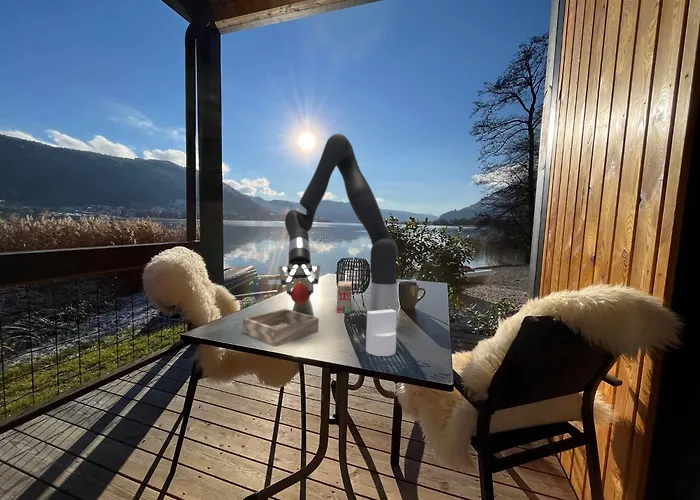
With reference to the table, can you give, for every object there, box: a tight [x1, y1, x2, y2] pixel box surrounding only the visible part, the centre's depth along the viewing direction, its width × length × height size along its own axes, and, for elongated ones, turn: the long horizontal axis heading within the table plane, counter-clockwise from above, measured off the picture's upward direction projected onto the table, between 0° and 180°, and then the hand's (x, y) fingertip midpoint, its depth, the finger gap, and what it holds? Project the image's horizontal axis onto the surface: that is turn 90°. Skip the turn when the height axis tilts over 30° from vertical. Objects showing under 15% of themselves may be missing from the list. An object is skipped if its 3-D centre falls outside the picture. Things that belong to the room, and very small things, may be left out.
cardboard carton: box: [336, 280, 353, 314], centre depth 143 cm, size 21×6×12 cm, turn 0°
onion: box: [290, 281, 310, 307], centre depth 97 cm, size 6×6×8 cm
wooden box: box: [242, 308, 320, 347], centre depth 106 cm, size 18×18×5 cm
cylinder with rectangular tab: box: [365, 309, 397, 357], centre depth 91 cm, size 9×9×12 cm
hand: (300, 293), depth 96 cm, fingers closed on onion, 5 cm apart
